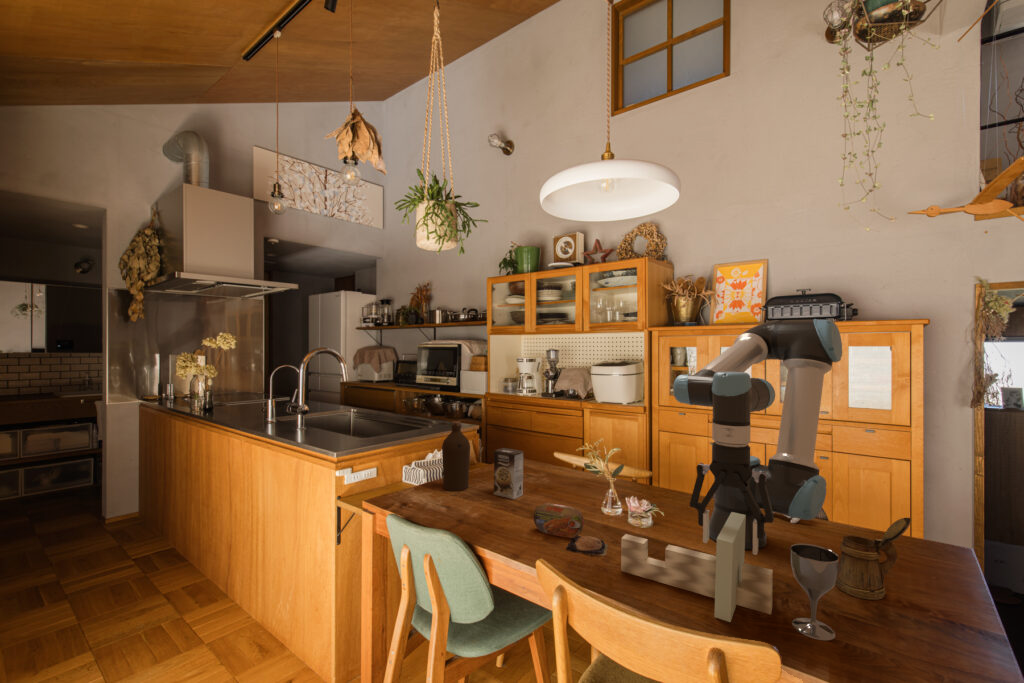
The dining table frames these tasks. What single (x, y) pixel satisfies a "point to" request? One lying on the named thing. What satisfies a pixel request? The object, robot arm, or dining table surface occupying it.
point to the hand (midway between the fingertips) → (730, 546)
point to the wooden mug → (868, 562)
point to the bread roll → (587, 546)
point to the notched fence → (695, 572)
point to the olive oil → (456, 460)
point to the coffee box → (508, 473)
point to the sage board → (729, 565)
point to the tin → (558, 520)
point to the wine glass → (814, 584)
